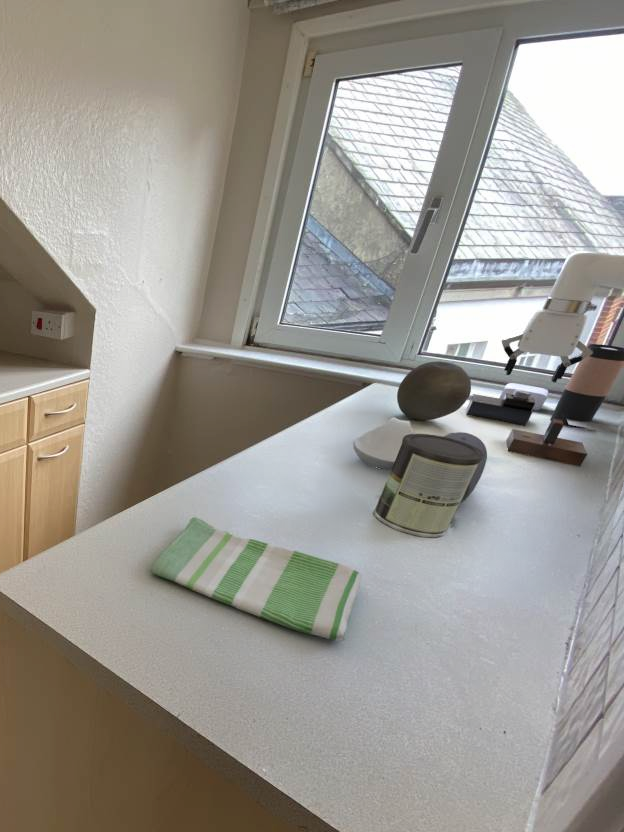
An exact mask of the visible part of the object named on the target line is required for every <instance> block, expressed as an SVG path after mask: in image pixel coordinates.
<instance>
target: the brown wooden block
mask: <svg viewBox="0 0 624 832" xmlns="http://www.w3.org/2000/svg"><path fill="white" fill-rule="evenodd" d="M543 436H544V434H543V433H536V432H532V431H526V430H521V429H516V428H511V431H510V432H509V435H508V437H507V438H506V448H508V450H507V452H510V451H512V452H511V453H514V452H516V453H515V454H520V455H525V456H528V455H529V456H528V457H534V458H537V459H543V460H547V461H552V462H556V463H560V464H566V465H570V466H575V467H578V468H579V467H581V466H582V465H583V463H584V462H585V460H586V458H587V456H588V452H587V450H586V448H585V445H584V442H581V441H577V440H571V439H566V438H563V437H562V438H561V437H557V439H556V441H555V442H554V444H551V443H546V442H544V439H543Z"/></svg>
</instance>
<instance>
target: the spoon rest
mask: <svg viewBox="0 0 624 832" xmlns="http://www.w3.org/2000/svg"><path fill="white" fill-rule="evenodd" d="M408 434H414V431H413V429H412V425H411V421H410V420H402V419H399V418H396V417H391V418H389V419H388V420H387V421H386V422H384V423H382V424H381V425H379V426H377V427H375V428H373V429H371V430H368V431H367V432H365V433H363V434H361V435H360V436H358V437H357V438H356V439H354V440H353V442H352V446H353V450H354V452H355V454H356V456H357V457H358V458H359V459H360V460H361V461H362V462H363V463H365V464H366V463H367V464H366V465H368V464H369V465H368V466H370V465H371V466H370V467H372V466H374V467H373V468H375V467H377V468H376V469H378V468H380V469H379V470H383V469H385V470H384V471H391V470H392V467H393V465H394V462H395V460H396V457H397V455H398V452H399V450H400V447H401V445H402V440H403V437H404V436H406V435H408Z"/></svg>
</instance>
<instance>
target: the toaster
mask: <svg viewBox="0 0 624 832" xmlns="http://www.w3.org/2000/svg"><path fill="white" fill-rule="evenodd" d="M512 396H513V394H507V393H505V396H504V398H503V399H499V398H500V397H499V398H498V397H494V396H493V397H492V396H487V395H482V394H476V393H473V394H472V396H471V398H470V400H469V402H468V404H467V407H466V412H465V413H466V414H465V415H466V416H468V417H474V418H479V419H485V420H488V421H494V422H499V423H505V424H510V425H516V426H521V427H526V426H527V424H528V422H529V421H530V419H531V416H532V414H533V412H534V410H532V408H533V406H534V405H535V400H534V398H531V397H529V398H528V400H522V399H516V398H512Z"/></svg>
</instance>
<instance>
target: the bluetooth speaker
mask: <svg viewBox="0 0 624 832" xmlns="http://www.w3.org/2000/svg"><path fill="white" fill-rule="evenodd" d="M442 436H443V437H447V438H451V439H455V440H458V441H462V442H465V443H467V444H470V445H472V446H474V447H476V448H478V449H479V450H481V451H482V452H483V453H484V457H483V459H482V460H481V461H480V463H479V465H478V467H477V469H476V471H475V473H474V475H473V477H472V479H471V481H470V483H469V486H468V488H467V490H466V492H465V494H464V496H463V498H462V500H461V502H460V504H462V503H463V502H464V501H466V499H468V498H469V497H470V495H471V494H472V493H473V492H474V490H475V488H476V486H477V485H478V483H479V481H480V479H481V478H482V475H483V473H484V470H485V468H486V464H487V459H488V451H487V447H486V445H485V443H484V441H482V440H481V438H479V437H477V436H476V435H474V434H471V433H468V432H461V431H460V432H451V433H448V434H445V435H442Z"/></svg>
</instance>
